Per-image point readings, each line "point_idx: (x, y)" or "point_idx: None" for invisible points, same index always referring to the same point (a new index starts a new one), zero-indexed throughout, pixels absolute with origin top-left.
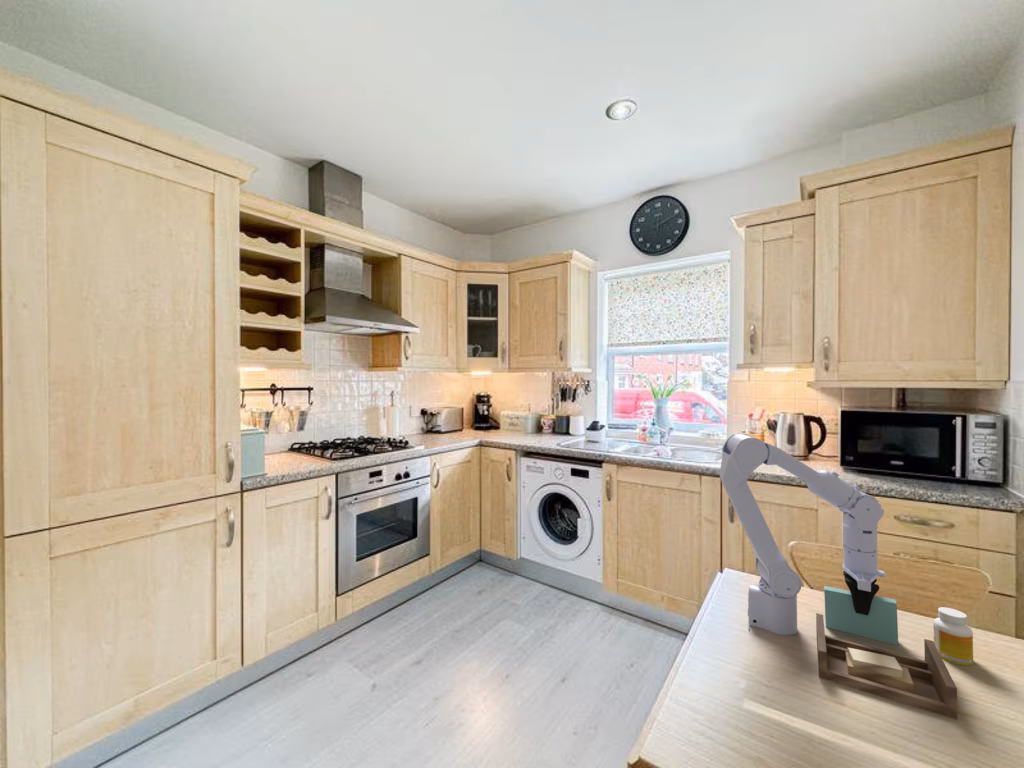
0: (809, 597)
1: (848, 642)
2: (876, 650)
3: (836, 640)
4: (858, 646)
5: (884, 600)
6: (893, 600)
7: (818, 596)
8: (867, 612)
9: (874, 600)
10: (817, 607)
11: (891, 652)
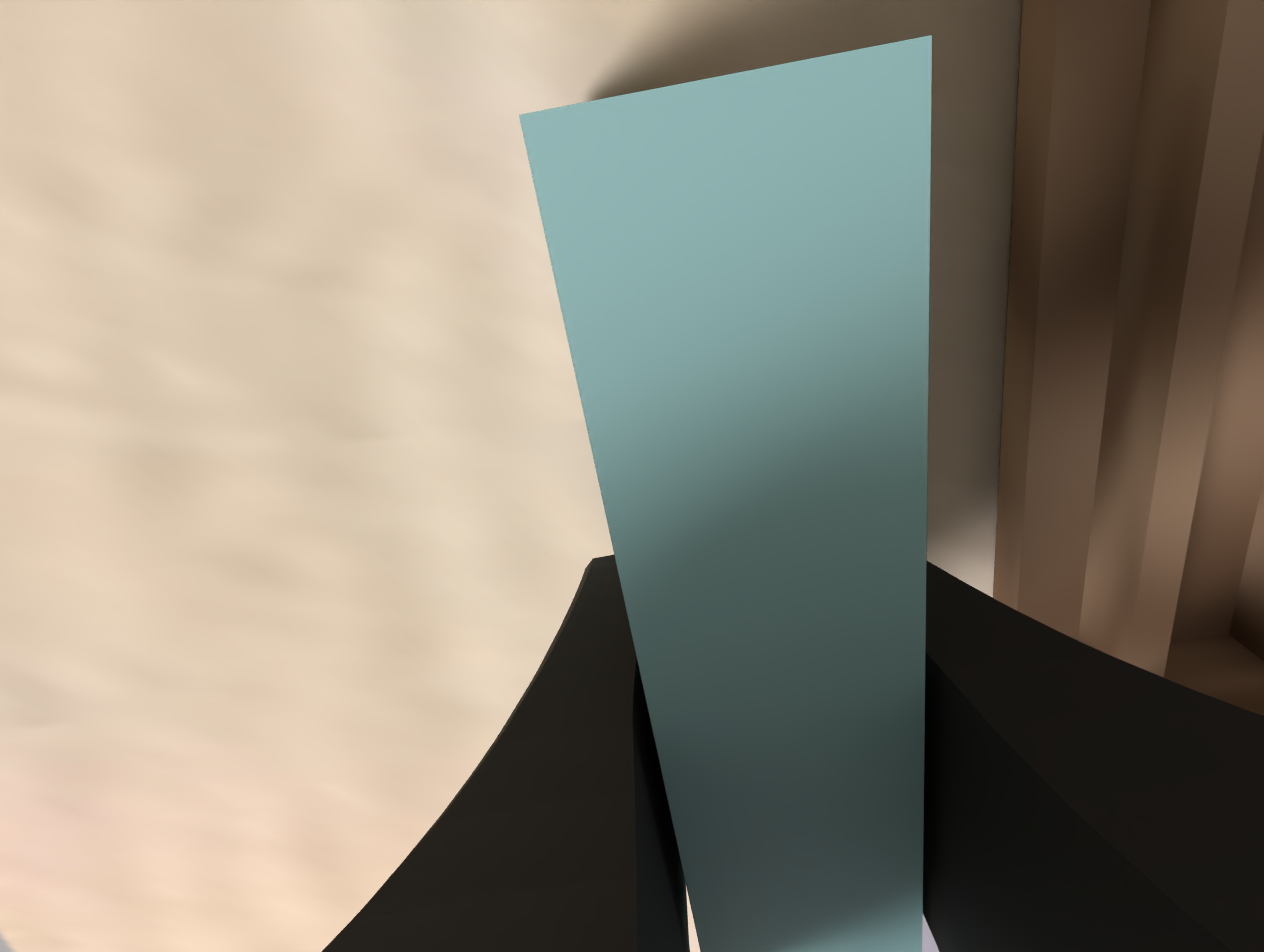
0: (140, 857)
1: (1177, 535)
2: (1230, 295)
3: (1171, 615)
4: (1200, 451)
5: (869, 411)
6: (676, 161)
7: (31, 817)
8: None
9: (917, 599)
10: (303, 782)
11: (1208, 144)
